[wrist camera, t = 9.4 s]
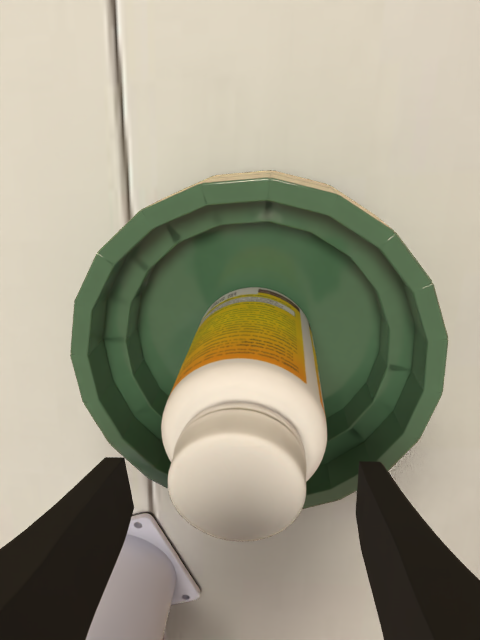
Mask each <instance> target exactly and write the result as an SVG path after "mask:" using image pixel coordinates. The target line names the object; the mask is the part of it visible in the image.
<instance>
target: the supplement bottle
mask: <svg viewBox="0 0 480 640" xmlns="http://www.w3.org/2000/svg"><path fill="white" fill-rule="evenodd" d="M161 432H162V440H163V445H164V448H165V451H166V453H167V456H168V458H169V460H170V461H171V465H170V469H169V472H168V492H169V495H170V498H171V501H172V503H173V504H174V506H175V508H176V510H177V511H178V512H179V514H180V515H181V516H182V517H183V518H184V519H185V520H186V521H187V522H188V523H190V524H191V525H192V526H194V527H195V528H197V529H198V530H200V531H202V532H204V533H206V534H208V535H211V536H213V537H217V538H221V539H225V540H230V541H253V540H259V539H264V538H267V537H270V536H273V535H275V534H277V533H279V532H281V531H282V530H284V529H286V528H287V527H288V526H289V525H290V524H291V523H293V522H294V520H295V519H296V518H297V517H298V515H299V514H300V512H301V510H302V508H303V505H304V502H305V498H306V482H307V481H308V480H309V479H310V478H311V476H312V475H313V474H314V473H315V471H316V470H317V468H318V467H319V465H320V463H321V461H322V459H323V456H324V453H325V449H326V444H327V422H326V416H325V410H324V403H323V397H322V391H321V385H320V378H319V372H318V365H317V359H316V353H315V347H314V342H313V336H312V331H311V328H310V325H309V322H308V320H307V318H306V316H305V314H304V313H303V311H302V310H301V309H300V308H299V307H298V306H297V305H296V304H295V303H294V302H293V301H292V300H291V299H289V298H288V297H286V296H284V295H283V294H281V293H279V292H276V291H273V290H270V289H267V288H260V287H249V288H242V289H238V290H235V291H232V292H229V293H227V294H225V295H224V296H222V297H221V298H219V299H218V300H217V301H215V302H214V303H213V304H212V305H211V306H210V308H209V309H208V310H207V312H206V313H205V315H204V317H203V318H202V320H201V322H200V325H199V327H198V330H197V332H196V334H195V337H194V339H193V341H192V344H191V346H190V349H189V351H188V353H187V355H186V358H185V360H184V362H183V365H182V367H181V369H180V372H179V374H178V376H177V379H176V381H175V384H174V386H173V388H172V391H171V393H170V395H169V398H168V400H167V403H166V406H165V409H164V412H163V416H162V424H161Z"/></svg>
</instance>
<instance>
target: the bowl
mask: <svg viewBox="0 0 480 640" xmlns="http://www.w3.org/2000/svg"><path fill="white" fill-rule="evenodd" d="M249 287H260V288H267V289H270V290H273V291H276V292H279V293H281V294H283V295H284V296H286V297H288V298H289V299H291V300H292V301H293V302H294V303H295V304H296V305H297V306H298V307H299V308H300V309H301V310H302V311H303V313H304V314H305V316H306V318H307V320H308V322H309V325H310V328H311V331H312V336H313V342H314V347H315V353H316V359H317V365H318V372H319V378H320V385H321V391H322V397H323V403H324V410H325V416H326V422H327V444H326V449H325V453H324V456H323V459H322V461H321V463H320V465H319V467H318V468H317V470H316V471H315V473H314V474H313V475H312V476H311V478H310V479H309V480H308V481H307V482H306V498H305V502H304V505H303V508H302V509H305V508H309V507H313V506H317V505H321V504H325V503H330V502H334V501H338V500H340V499H342V498H344V497H346V496H348V495H350V494H351V493H353V492H355V491H357V486H358V471H359V461H375V462H381V463H382V464H383V465H384V466H385V468H386V469H387V471H389V470H390V469H391V468H392V467H393V466H394V465H395V464H396V463H397V462H398V461H399V460H400V459H401V458H402V457H403V456H404V455H405V454H406V453H407V452H408V451H409V450H410V449H411V448H412V447H413V446H414V445H415V444H416V443H417V442H418V440H419V439H420V438H421V436H422V434H423V432H424V430H425V428H426V426H427V424H428V422H429V420H430V418H431V416H432V414H433V412H434V410H435V408H436V406H437V404H438V402H439V400H440V398H441V396H442V392H443V385H444V375H445V366H446V357H447V347H448V335H447V331H446V328H445V324H444V320H443V317H442V313H441V310H440V306H439V302H438V299H437V295H436V291H435V288H434V284H433V283H432V280H431V279H430V278H429V276H428V275H427V273H426V272H425V271H424V269H423V268H422V267H421V265H420V264H419V263H418V261H417V260H416V259H415V257H414V256H413V255H412V253H411V252H410V251H409V249H408V248H407V247H406V245H405V244H404V242H403V241H402V240H401V238H400V237H399V236H398V234H397V233H396V232H395V231H394V230H393V229H392V228H390V227H389V226H388V225H387V224H385V223H384V222H383V221H382V220H381V219H379V218H378V217H377V216H376V215H375V214H373V213H371V212H370V211H368V210H367V209H365V208H364V207H362V206H361V205H359V204H358V203H356V202H355V201H353V200H352V199H350V198H349V197H347V196H346V195H344V194H343V193H341V192H339V191H338V190H336V189H335V188H333V187H332V186H330V185H327V184H325V183H321V182H317V181H313V180H309V179H305V178H301V177H297V176H293V175H289V174H285V173H281V172H277V171H271V170H267V171H256V172H245V173H233V174H222V175H215V176H211V177H209V178H207V179H205V180H203V181H200V182H198V183H196V184H194V185H191V186H189V187H187V188H185V189H183V190H180V191H178V192H176V193H174V194H171V195H169V196H167V197H165V198H163V199H161V200H159V201H157V202H155V203H153V204H151V205H149V206H147V207H145V208H143V209H142V210H141V211H139V212H138V213H137V214H136V215H135V216H134V217H133V218H132V219H131V220H130V221H129V222H128V223H127V224H126V225H125V226H124V227H123V228H122V229H121V230H120V231H118V232H117V233H116V234H115V235H114V236H113V237H112V238H111V239H110V240H109V241H108V242H107V243H106V244H105V245H104V246H103V247H102V248H101V249H100V250H99V251H98V253H97V254H96V256H95V258H94V260H93V262H92V265H91V267H90V269H89V271H88V273H87V275H86V277H85V280H84V282H83V284H82V286H81V288H80V290H79V293H78V295H77V297H76V299H75V301H74V303H75V304H74V314H73V327H72V341H71V355H70V356H71V360H72V363H73V367H74V371H75V375H76V378H77V382H78V386H79V390H80V393H81V397H82V401H83V403H84V405H85V406H86V408H87V409H88V411H89V413H90V414H91V416H92V417H93V419H94V420H95V422H96V424H97V425H98V427H99V428H100V430H101V431H102V433H103V435H104V436H105V438H106V439H107V441H108V442H109V444H111V446H112V447H113V448H114V449H116V450H117V451H118V452H119V453H120V454H121V455H122V456H123V457H125V458H126V459H127V460H128V461H129V462H130V463H131V464H132V465H134V466H135V467H136V468H137V469H138V470H139V471H140V472H141V473H143V474H144V475H145V476H146V477H147V478H149V479H151V480H153V481H155V482H156V483H158V484H160V485H162V486H164V487H166V488H168V472H169V469H170V465H171V461H170V460H169V458H168V456H167V453H166V451H165V448H164V445H163V440H162V432H161V424H162V416H163V412H164V409H165V406H166V403H167V400H168V398H169V395H170V393H171V391H172V388H173V386H174V384H175V381H176V379H177V376H178V374H179V372H180V369H181V367H182V365H183V362H184V360H185V358H186V355H187V353H188V351H189V349H190V346H191V344H192V341H193V339H194V337H195V334H196V332H197V330H198V327H199V325H200V322H201V320H202V318H203V317H204V315H205V313H206V312H207V310H208V309H209V308H210V306H211V305H212V304H213V303H214V302H215V301H217V300H218V299H219V298H221V297H222V296H224V295H225V294H227V293H229V292H232V291H235V290H238V289H242V288H249Z"/></svg>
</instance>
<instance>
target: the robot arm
mask: <svg viewBox="0 0 480 640" xmlns="http://www.w3.org/2000/svg"><path fill="white" fill-rule="evenodd" d="M133 509H134V505H133V500H132V495H131V490H130V485H129V480H128V475H127V470H126V464H125V459H124V458H107V457H106V458H104V459H103V460H102V461H101V462H100V463H99V464H98V465H97V466H96V467H95V468H94V469H93V470H92V471H91V472H89V473H88V474H87V475H86V476H85V477H84V478H83V479H82V480H81V481H80V482H79V483H78V484H77V485H76V486H75V487H74V488H73V489H72V490H70V491H69V492H68V493H67V494H66V495H65V496H64V497H63V498H62V499H61V500H60V501H58V502H57V503H56V504H55V505H54V506H53V507H52V508H51V509H49V510H48V511H47V512H46V513H45V514H44V515H42V516H41V517H40V518H39V519H38V520H36V521H35V522H34V523H33V524H32V525H31V526H29V527H28V528H27V529H26V530H25V531H23V532H22V533H21V534H20V535H18V536H17V537H16V538H14V539H13V540H12V541H11V542H9V543H8V544H6V545H5V546H4V547H2V548H1V549H0V640H163V636H164V631H165V627H166V623H167V619H168V614H169V610H170V606H171V605H174V604H179V603H183V602H188V601H193V600H197V599H198V598H199V596H200V589H199V588H198V586H197V585H196V583H195V582H194V580H193V578H192V577H191V575H190V574H189V572H188V571H187V569H186V568H185V566H184V564H183V563H182V561H181V560H180V558H179V557H178V555H177V554H176V552H175V550H174V549H173V547H172V546H171V544H170V543H169V541H168V540H167V538H166V536H165V535H164V533H163V532H162V530H161V529H160V527H159V526H158V524H157V522H156V521H155V519H154V518H153V517H152V516H151V515H150V514H147V513H143V514H139V515H135V516H132V513H133ZM356 518H357V525H358V532H359V539H360V545H361V550H362V554H363V558H364V562H365V566H366V570H367V574H368V578H369V582H370V586H371V589H372V593H373V597H374V601H375V605H376V609H377V612H378V616H379V620H380V624H381V628H382V632H383V637H384V640H480V580H479V579H478V578H477V577H476V576H475V575H474V574H473V573H472V572H471V571H470V570H469V569H468V568H467V567H466V566H465V565H464V564H463V563H462V562H461V561H460V560H459V559H458V558H457V557H456V556H455V555H454V554H453V553H452V552H451V551H450V550H449V549H448V547H447V546H446V545H445V544H444V543H443V542H442V541H441V540H440V538H439V537H438V536H437V535H436V534H435V533H434V532H433V530H432V529H431V528H430V527H429V526H428V524H427V523H426V522H425V521H424V520H423V518H422V517H421V516H420V515H419V513H418V512H417V511H416V509H415V508H414V507H413V506H412V504H411V503H410V502H409V500H408V499H407V498H406V496H405V495H404V494H403V492H402V491H401V490H400V488H399V487H398V485H397V484H396V483H395V481H394V480H393V478H392V477H391V475H390V474H389V472H388V471H387V469H386V468H385V466H384V465H383V464H382V463H381V462H375V461H359V471H358V486H357V502H356ZM138 522H139V523H138Z"/></svg>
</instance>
